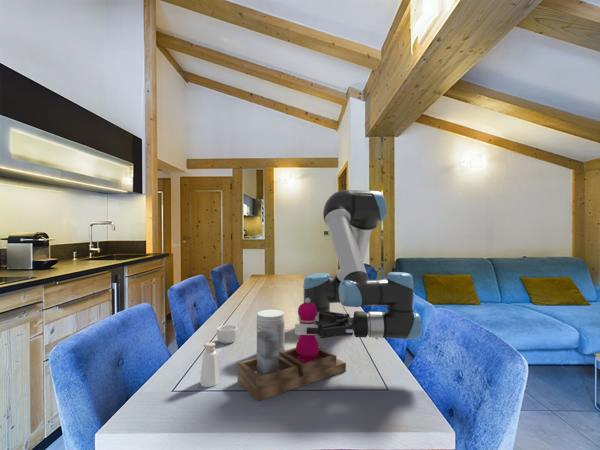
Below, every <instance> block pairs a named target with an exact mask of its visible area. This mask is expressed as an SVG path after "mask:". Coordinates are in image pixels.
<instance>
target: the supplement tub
mask: <svg viewBox="0 0 600 450" xmlns="http://www.w3.org/2000/svg"><path fill="white" fill-rule="evenodd" d="M270 329H271V330H273V331H275V332H277V333H279V352H281V351H285V345H286V344H285V341H286V340H285V313H284V311H282V310H279V309H265V310H260V311H258V312H257V313H256V333H257V332H260V331H265V330H270Z"/></svg>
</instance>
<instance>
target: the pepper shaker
mask: <svg viewBox="0 0 600 450" xmlns="http://www.w3.org/2000/svg"><path fill="white" fill-rule="evenodd" d="M215 346H216V343H215V342H212V341H211V342H206V343H205V344H204V350H205V351H204V352H203V354H202V361H201V368H200V369H201V370H200V380H199V383H200V385H201V387H205V388H210V387H211V388H212V387H216V385H218V384H219V383H220V375H219V374H220V372H219V362H218V354H217V351H216V347H215Z"/></svg>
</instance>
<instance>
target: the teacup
mask: <svg viewBox="0 0 600 450" xmlns="http://www.w3.org/2000/svg"><path fill="white" fill-rule="evenodd" d="M216 337H217V340H218V341H219V342H220V343H221V344H227V345H228V344H232V343H233V342H235V340H237V338H238V326H237V325H235V324H224V325H219V326H218V327H217V328H216Z"/></svg>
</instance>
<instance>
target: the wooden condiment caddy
mask: <svg viewBox="0 0 600 450" xmlns="http://www.w3.org/2000/svg"><path fill="white" fill-rule="evenodd" d="M298 356H299V355H298V354H297V353H296V347H293V348H289V349H286V350H285V351H281V352H279V333H277V332H275V331H273V330H271V329H270V330H265V331H260V332H257V331H256V357H253V358H250V359H246V360H243V361H238V362H237V383H238V384H239V385H240V386H241V387H242V388H244V389H245V391H247V392H248V393H249V395H251V396H252V397H253V398H254V399H255V400H257V401H258V402H260V401H262V400H265V399H268V398H272V397H274V396H277V395H280V394H284V393H286V392H288V391H291V390H294V389H298V388H300V386H301V387H304V386H306V385H308V383H309V384H312V383H314V381H315V382H318V381H320V379H321V380H323V378H324V379H326V377H327V378H329V376H330V377H332V376H335V375H337V374H340V373H344V372H347V363H346V362H345V361H343V360H341V359H339V358H337V355H335V354H333V353H331V352H329V351H327V350H325V349H323V348H320V347H319V353H318V355H317V357H318V359H317V360H314V361H310V362H307V363H303V362H301V361H299V360H297V357H298ZM317 380H318V381H317ZM303 385H304V386H303ZM297 387H298V388H297Z"/></svg>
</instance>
